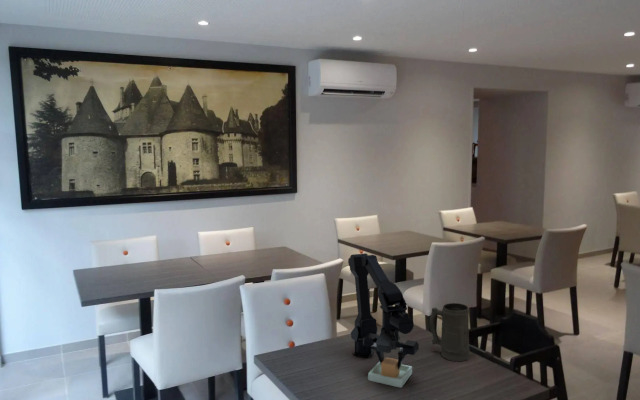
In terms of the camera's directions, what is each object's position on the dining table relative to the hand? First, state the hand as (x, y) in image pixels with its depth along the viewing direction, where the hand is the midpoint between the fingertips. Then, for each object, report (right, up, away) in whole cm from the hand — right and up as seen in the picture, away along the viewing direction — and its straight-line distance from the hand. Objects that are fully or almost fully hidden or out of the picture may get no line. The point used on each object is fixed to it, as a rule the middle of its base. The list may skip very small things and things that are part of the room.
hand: (390, 367), depth 168 cm
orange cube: (0, -3, 0) cm, 3 cm away
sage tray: (0, -4, 0) cm, 4 cm away
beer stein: (+25, -2, +18) cm, 31 cm away
